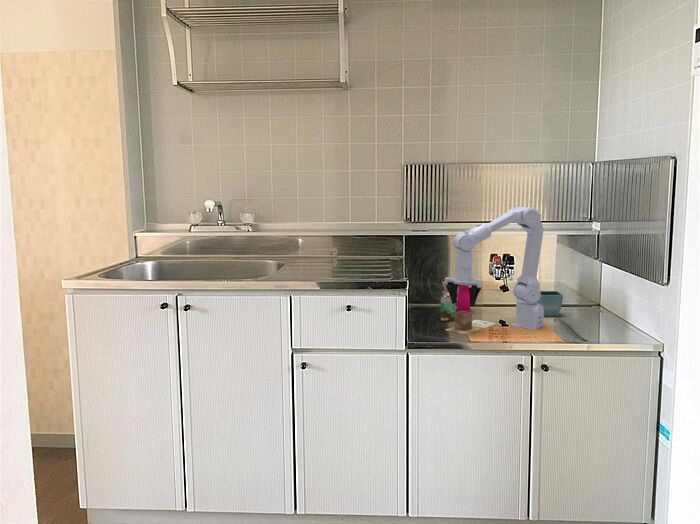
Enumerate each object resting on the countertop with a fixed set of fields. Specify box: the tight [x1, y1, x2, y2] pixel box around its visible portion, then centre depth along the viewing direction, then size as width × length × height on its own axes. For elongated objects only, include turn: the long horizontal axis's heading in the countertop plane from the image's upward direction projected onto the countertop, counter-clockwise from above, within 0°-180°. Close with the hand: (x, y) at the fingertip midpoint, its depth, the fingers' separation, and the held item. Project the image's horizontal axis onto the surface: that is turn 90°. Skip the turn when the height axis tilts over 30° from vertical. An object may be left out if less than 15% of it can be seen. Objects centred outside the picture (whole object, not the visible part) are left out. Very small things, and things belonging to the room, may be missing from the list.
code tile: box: [472, 319, 497, 329], centre depth 239 cm, size 9×9×1 cm
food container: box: [440, 291, 458, 323], centre depth 246 cm, size 12×6×10 cm, turn 168°
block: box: [453, 311, 473, 331], centre depth 230 cm, size 4×4×6 cm
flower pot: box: [537, 290, 564, 317], centre depth 251 cm, size 9×9×9 cm
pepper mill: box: [455, 283, 472, 313], centre depth 256 cm, size 7×7×20 cm
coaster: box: [444, 326, 481, 336], centre depth 230 cm, size 9×9×1 cm
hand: (463, 304), depth 228 cm, fingers open, 7 cm apart
